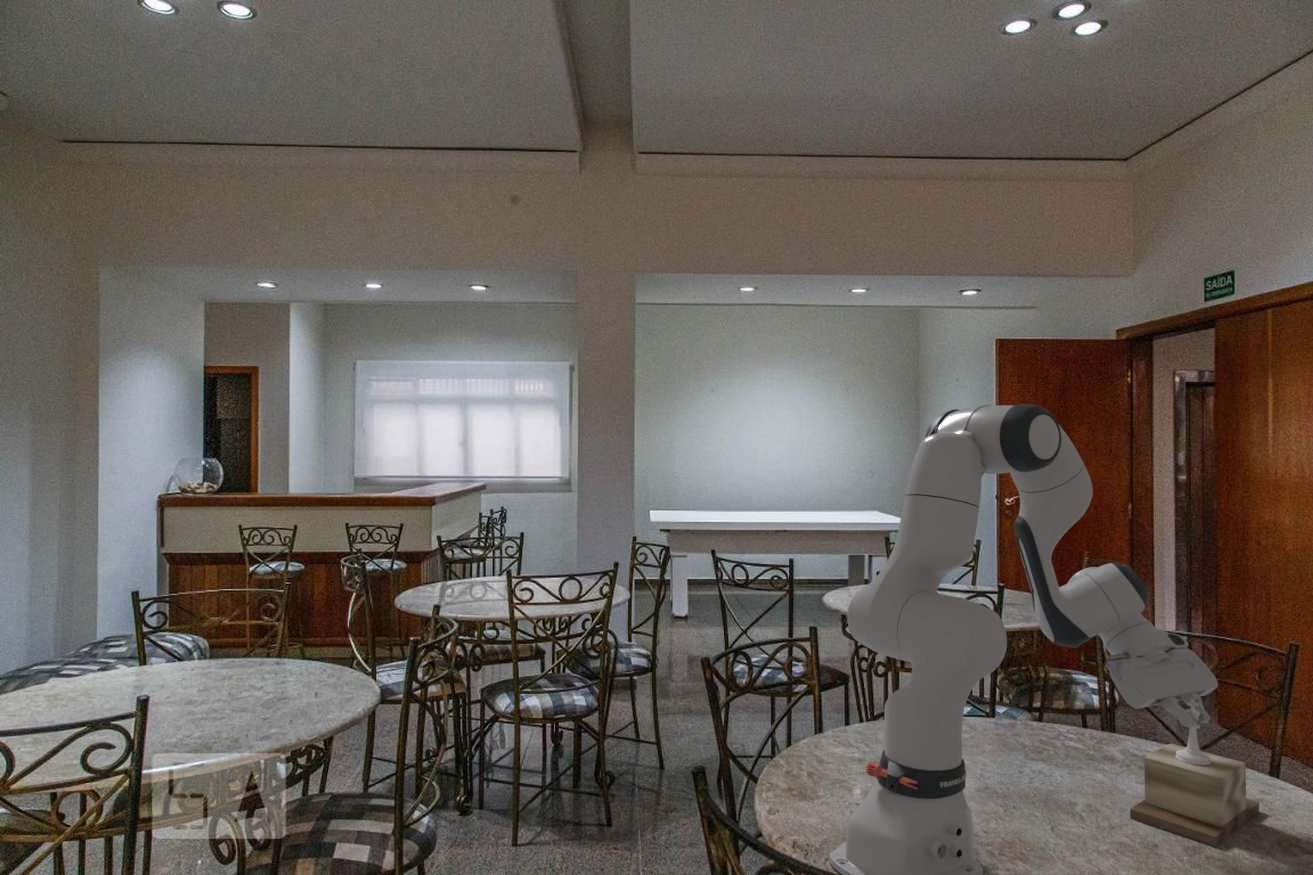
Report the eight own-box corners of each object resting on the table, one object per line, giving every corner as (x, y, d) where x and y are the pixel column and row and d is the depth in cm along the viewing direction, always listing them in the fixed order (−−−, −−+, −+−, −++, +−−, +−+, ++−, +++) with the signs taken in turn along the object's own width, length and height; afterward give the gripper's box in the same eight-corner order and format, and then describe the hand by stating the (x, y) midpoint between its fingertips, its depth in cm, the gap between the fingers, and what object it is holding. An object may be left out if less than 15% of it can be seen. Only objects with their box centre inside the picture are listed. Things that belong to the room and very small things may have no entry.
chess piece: (1217, 766, 128) (1216, 704, 128) (1184, 763, 129) (1183, 702, 129) (1201, 755, 133) (1201, 695, 133) (1169, 752, 134) (1169, 693, 134)
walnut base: (1215, 846, 120) (1214, 787, 120) (1130, 817, 129) (1129, 762, 129) (1259, 811, 132) (1258, 757, 132) (1178, 786, 141) (1177, 736, 141)
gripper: (1112, 646, 133) (1171, 722, 124) (1189, 635, 141) (1249, 705, 132) (1088, 666, 137) (1144, 741, 128) (1164, 654, 145) (1222, 724, 136)
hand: (1198, 723), depth 130 cm, fingers open, 2 cm apart
